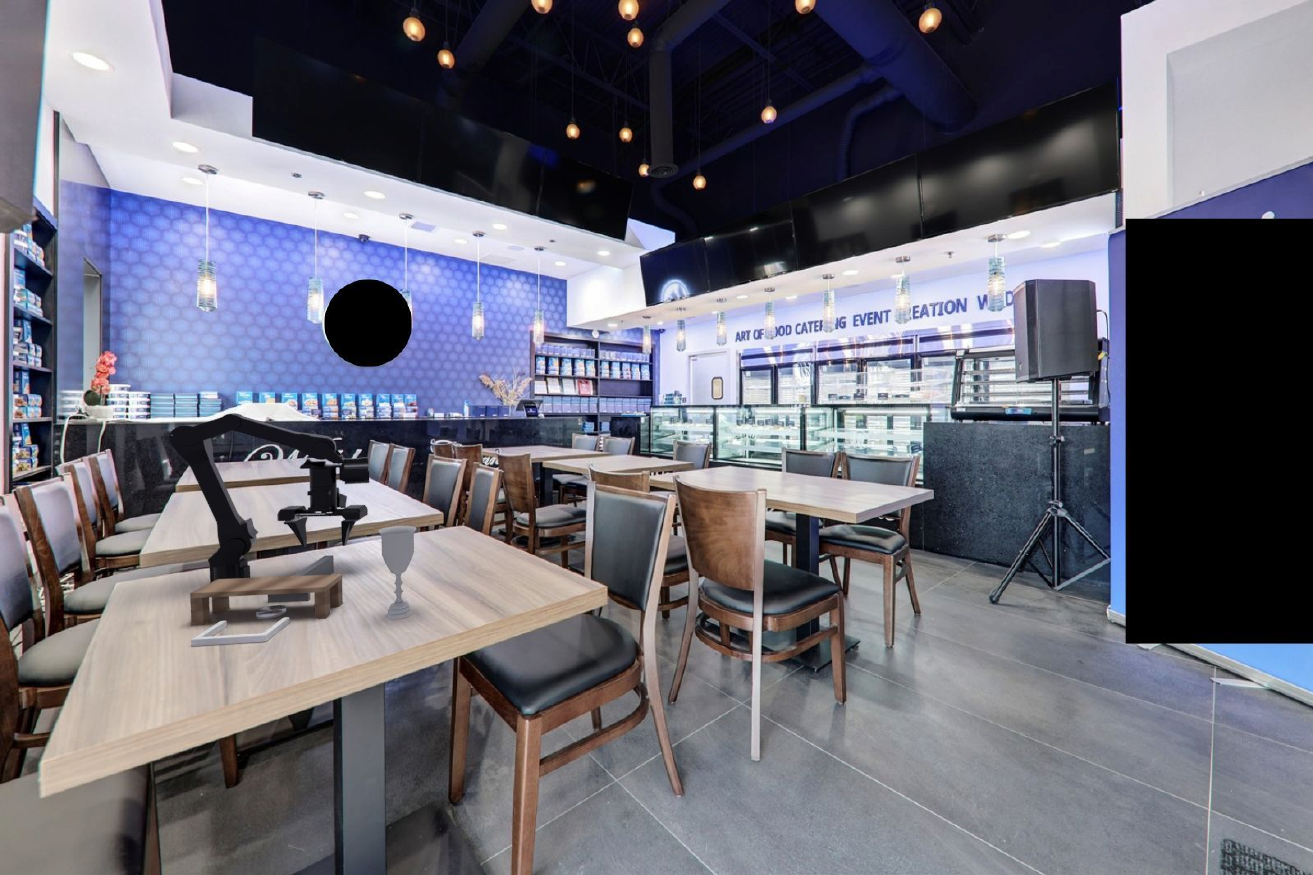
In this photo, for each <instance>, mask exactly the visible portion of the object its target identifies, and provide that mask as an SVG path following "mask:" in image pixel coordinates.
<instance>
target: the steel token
mask: <svg viewBox="0 0 1313 875" xmlns="http://www.w3.org/2000/svg"><path fill="white" fill-rule="evenodd" d="M286 613H287V606H286V605H285V604H275V605H274V604H273V605H269V606H268V605H267V606H266V607H262V608H260V609H258V610H256V612H255V618H256V619H259V620H266V619H267V620H268V619H272V618H278V617H280V616H282V615H284V614H286Z"/></svg>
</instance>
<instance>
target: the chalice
mask: <svg viewBox="0 0 1313 875" xmlns="http://www.w3.org/2000/svg"><path fill="white" fill-rule="evenodd" d="M416 531H417V527H416V526H411V525H395V526H387V527H383V528H380V529H379V530H378V534H379V535H380V538H381V557H382V559H383V561H384V564H385V565H386V568H388V570H389V572H390V573H391V574H392V575H395V581H394V585H395V588H396V589H395V591H393V593H394V594H395V597H396V598H395V600H394V602H393V603H391V604H390V606H388V607H389V608H388V609H387V613H386V614H385V618H386V619H387V620H400V619H404V618H407V617H408V618H409V616H411V615H412V614H413V610H412V609H411V606H410V604H409V603H408V601H406V600H403V598H402V594H403V593H404V590H403V588H402V586H403V585H402V584H404V582H403V580H402V574H403V573H405V572H406V571H407V570H408V568H409V566H410V564H411V561H412V558H413V557H414V554H415V537H414V536H415V535H414V534H415V532H416Z"/></svg>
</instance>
